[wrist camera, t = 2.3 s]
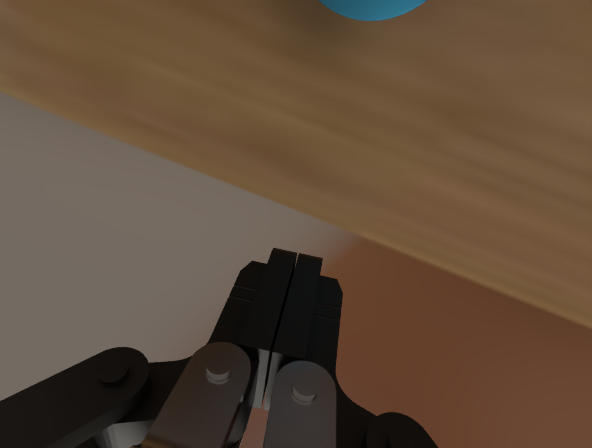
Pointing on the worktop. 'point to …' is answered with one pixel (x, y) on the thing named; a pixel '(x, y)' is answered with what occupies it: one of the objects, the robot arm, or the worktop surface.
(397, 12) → the ball
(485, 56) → the worktop surface
